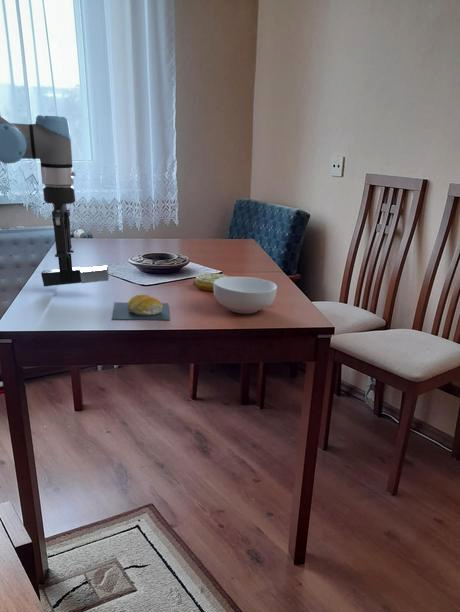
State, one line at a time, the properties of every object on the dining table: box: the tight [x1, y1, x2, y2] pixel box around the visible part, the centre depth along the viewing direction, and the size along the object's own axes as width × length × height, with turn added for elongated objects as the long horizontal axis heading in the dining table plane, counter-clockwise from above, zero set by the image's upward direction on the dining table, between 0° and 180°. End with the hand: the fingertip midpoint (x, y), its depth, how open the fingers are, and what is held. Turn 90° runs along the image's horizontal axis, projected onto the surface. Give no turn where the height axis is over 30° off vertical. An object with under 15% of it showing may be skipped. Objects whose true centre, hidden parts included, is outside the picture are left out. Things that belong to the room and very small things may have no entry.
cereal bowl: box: [213, 276, 278, 315], centre depth 146 cm, size 17×17×7 cm
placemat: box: [111, 301, 171, 321], centre depth 141 cm, size 14×14×1 cm
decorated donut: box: [194, 272, 229, 292], centre depth 165 cm, size 10×11×4 cm
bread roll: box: [127, 294, 163, 316], centre depth 140 cm, size 8×9×4 cm
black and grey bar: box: [40, 265, 110, 287], centre depth 148 cm, size 17×4×4 cm, turn 97°
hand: (66, 279), depth 148 cm, fingers closed on black and grey bar, 3 cm apart
